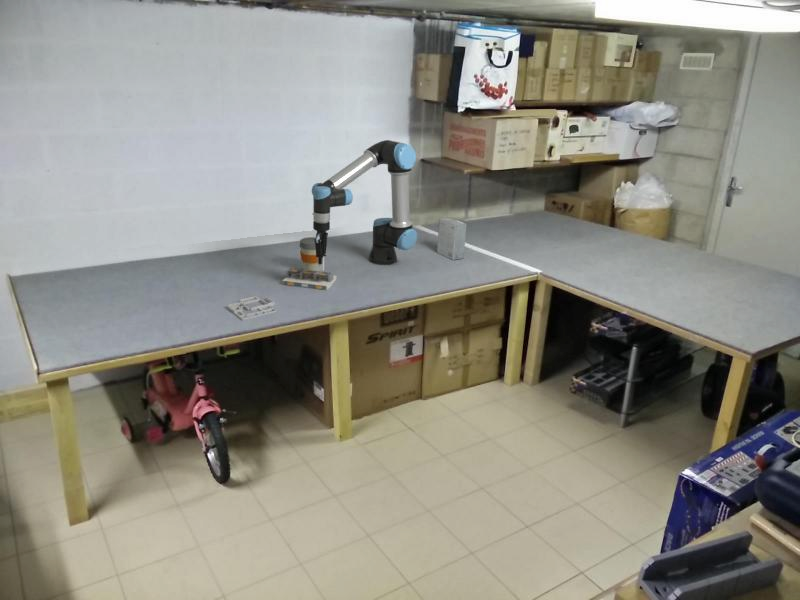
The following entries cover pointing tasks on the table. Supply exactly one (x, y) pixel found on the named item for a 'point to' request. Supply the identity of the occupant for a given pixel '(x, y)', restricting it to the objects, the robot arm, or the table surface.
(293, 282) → the switch unit
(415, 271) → the table surface
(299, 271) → the rocker
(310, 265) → the reusable coffee cup
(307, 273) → the rocker middle
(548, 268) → the table surface
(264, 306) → the floor plan model
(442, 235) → the hard drive box
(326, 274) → the rocker
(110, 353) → the table surface
